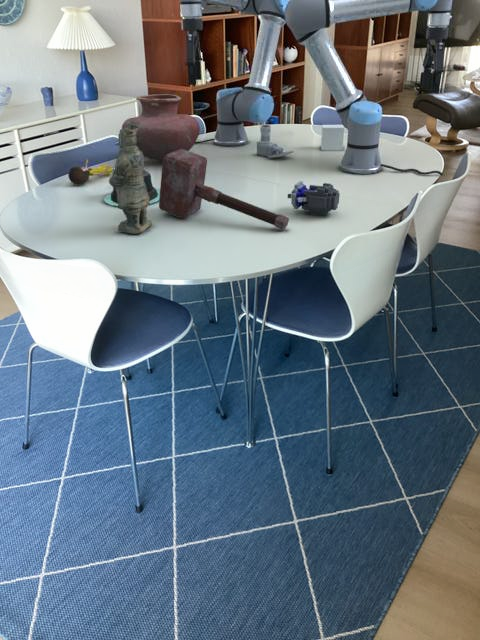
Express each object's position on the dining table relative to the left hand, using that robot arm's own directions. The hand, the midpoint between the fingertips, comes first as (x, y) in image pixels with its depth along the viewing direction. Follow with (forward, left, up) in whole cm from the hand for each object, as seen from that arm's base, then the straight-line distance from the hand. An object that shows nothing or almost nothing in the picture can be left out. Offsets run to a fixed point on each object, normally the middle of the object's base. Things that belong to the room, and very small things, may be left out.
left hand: (195, 82), depth 209 cm
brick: (+47, +37, -30) cm, 67 cm away
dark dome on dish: (-5, -47, -30) cm, 56 cm away
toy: (+56, -46, -30) cm, 79 cm away
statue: (+10, -73, -30) cm, 80 cm away
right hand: (+84, +28, -4) cm, 89 cm away
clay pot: (-16, -1, -30) cm, 34 cm away
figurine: (-29, -30, -30) cm, 51 cm away
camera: (+26, +17, -30) cm, 43 cm away
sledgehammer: (+32, -60, -30) cm, 74 cm away
